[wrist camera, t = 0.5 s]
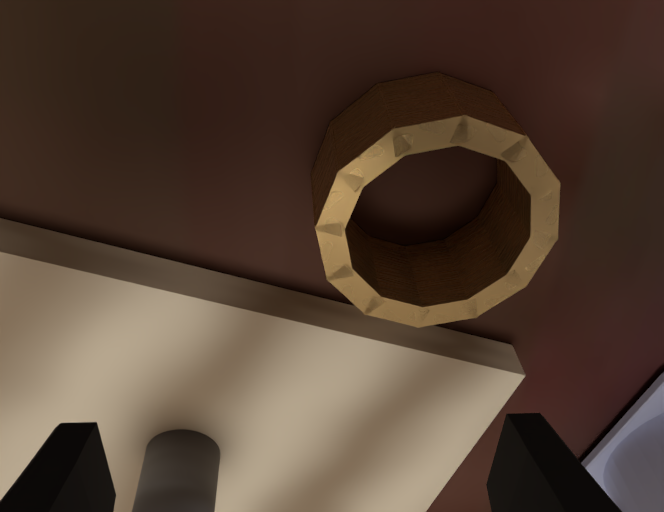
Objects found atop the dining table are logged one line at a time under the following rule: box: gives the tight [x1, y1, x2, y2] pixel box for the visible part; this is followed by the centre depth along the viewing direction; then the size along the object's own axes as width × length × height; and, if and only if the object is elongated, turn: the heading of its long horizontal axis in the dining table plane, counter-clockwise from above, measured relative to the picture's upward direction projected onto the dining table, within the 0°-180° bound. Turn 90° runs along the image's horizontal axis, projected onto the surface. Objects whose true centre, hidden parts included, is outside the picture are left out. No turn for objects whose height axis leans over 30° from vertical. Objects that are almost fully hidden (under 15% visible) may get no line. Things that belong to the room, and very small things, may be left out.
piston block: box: [0, 218, 526, 512], centre depth 21 cm, size 20×14×6 cm
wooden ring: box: [311, 72, 561, 328], centre depth 17 cm, size 6×6×3 cm
